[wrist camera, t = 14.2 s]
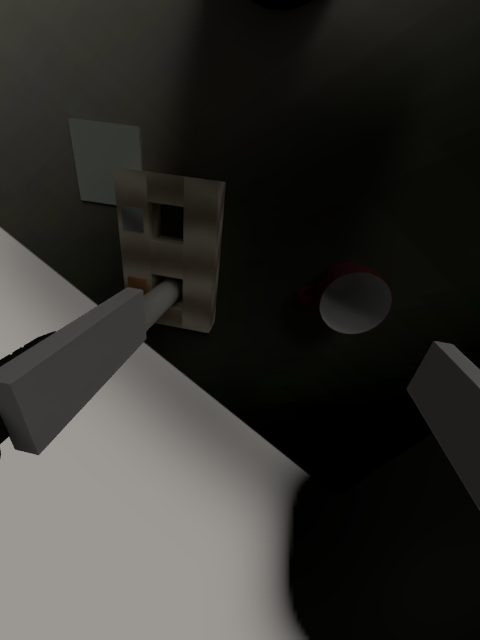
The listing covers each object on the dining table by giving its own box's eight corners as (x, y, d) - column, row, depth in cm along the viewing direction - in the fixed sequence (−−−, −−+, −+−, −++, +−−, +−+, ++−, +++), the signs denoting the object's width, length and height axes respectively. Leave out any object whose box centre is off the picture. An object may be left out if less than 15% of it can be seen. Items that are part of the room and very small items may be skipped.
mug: (302, 312, 42) (307, 345, 33) (289, 266, 39) (290, 289, 30) (371, 294, 39) (396, 325, 30) (363, 243, 36) (387, 261, 27)
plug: (166, 272, 43) (114, 309, 30) (186, 276, 42) (144, 315, 30) (166, 292, 44) (117, 335, 32) (186, 296, 44) (145, 341, 31)
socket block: (129, 168, 36) (111, 166, 33) (225, 181, 35) (218, 181, 31) (139, 308, 47) (127, 318, 43) (214, 321, 45) (208, 333, 42)
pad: (70, 118, 35) (68, 118, 34) (140, 127, 34) (138, 126, 33) (82, 199, 39) (81, 200, 39) (144, 209, 38) (143, 209, 38)
